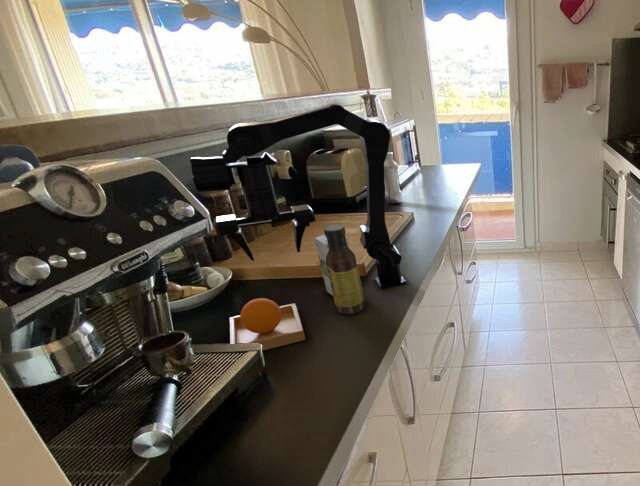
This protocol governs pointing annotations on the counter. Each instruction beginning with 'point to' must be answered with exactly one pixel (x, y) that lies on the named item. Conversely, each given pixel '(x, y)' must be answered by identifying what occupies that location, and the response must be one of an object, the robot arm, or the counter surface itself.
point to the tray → (280, 336)
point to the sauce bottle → (343, 272)
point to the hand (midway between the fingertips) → (276, 255)
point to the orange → (260, 315)
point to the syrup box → (324, 259)
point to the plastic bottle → (391, 180)
